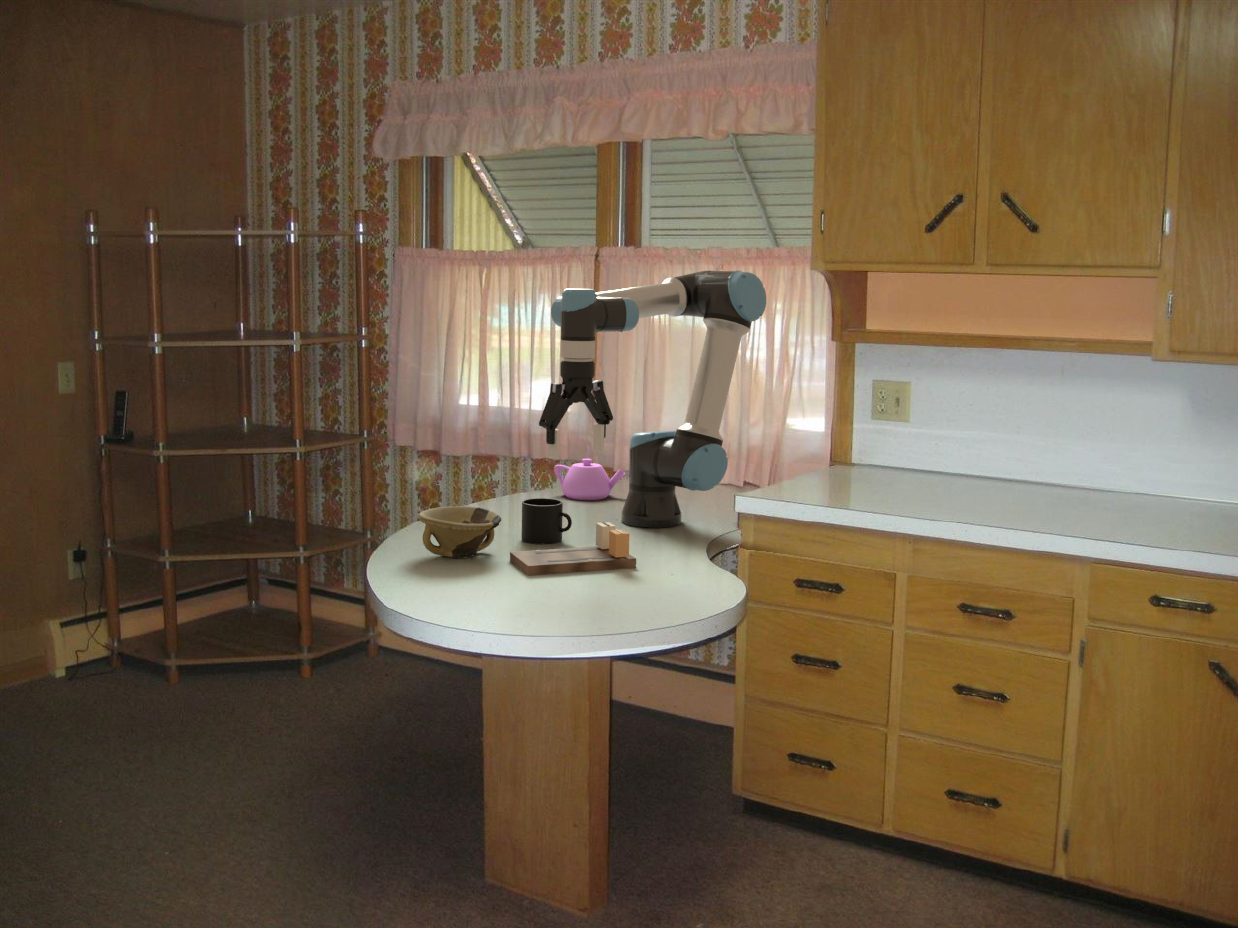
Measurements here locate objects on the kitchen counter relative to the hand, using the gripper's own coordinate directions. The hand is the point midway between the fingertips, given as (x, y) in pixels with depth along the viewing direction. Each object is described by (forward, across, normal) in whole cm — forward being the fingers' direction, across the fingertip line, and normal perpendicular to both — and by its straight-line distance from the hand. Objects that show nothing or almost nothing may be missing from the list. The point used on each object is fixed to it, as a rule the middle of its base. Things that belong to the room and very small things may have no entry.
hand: (576, 456), depth 267 cm
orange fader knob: (+19, +2, +16) cm, 25 cm away
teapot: (+22, -49, -46) cm, 71 cm away
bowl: (+22, +22, -13) cm, 34 cm away
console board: (+22, +9, +8) cm, 25 cm away
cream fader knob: (+19, -1, +9) cm, 21 cm away
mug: (+22, -2, -12) cm, 25 cm away
